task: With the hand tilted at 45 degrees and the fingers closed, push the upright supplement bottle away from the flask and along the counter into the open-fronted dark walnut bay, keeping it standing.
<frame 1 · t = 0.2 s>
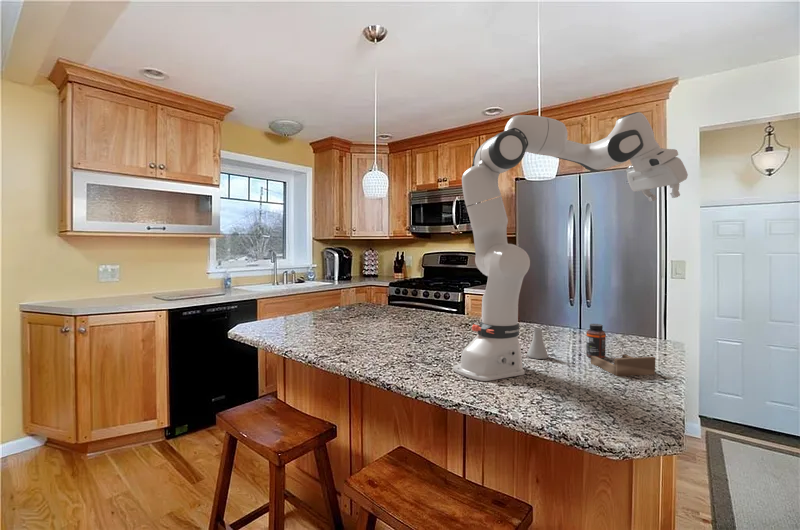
hand: (664, 198, 130), 54 cm above the countertop, tool tilted 30°, fingers open, 8 cm apart
walnut bay: (621, 368, 124), on the countertop
supplement bottle: (595, 357, 137), on the countertop
flask: (537, 357, 137), on the countertop
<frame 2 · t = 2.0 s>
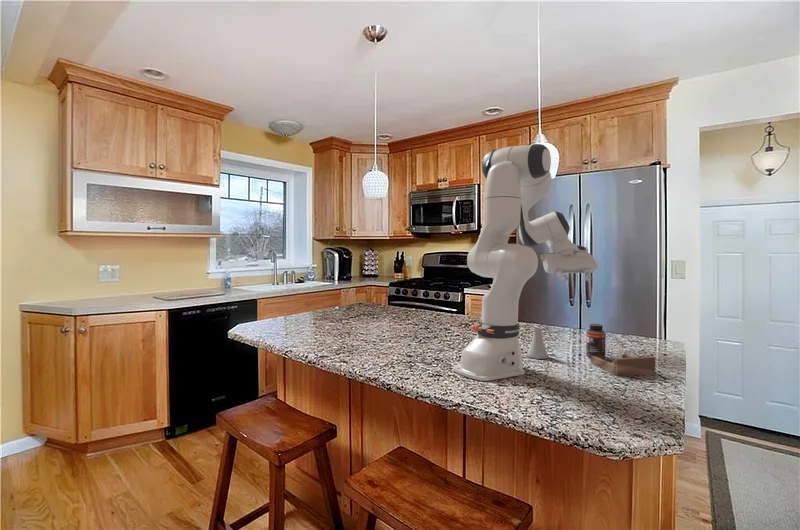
hand: (577, 280, 147), 25 cm above the countertop, tool tilted 45°, fingers open, 8 cm apart
nothing on the countertop moved.
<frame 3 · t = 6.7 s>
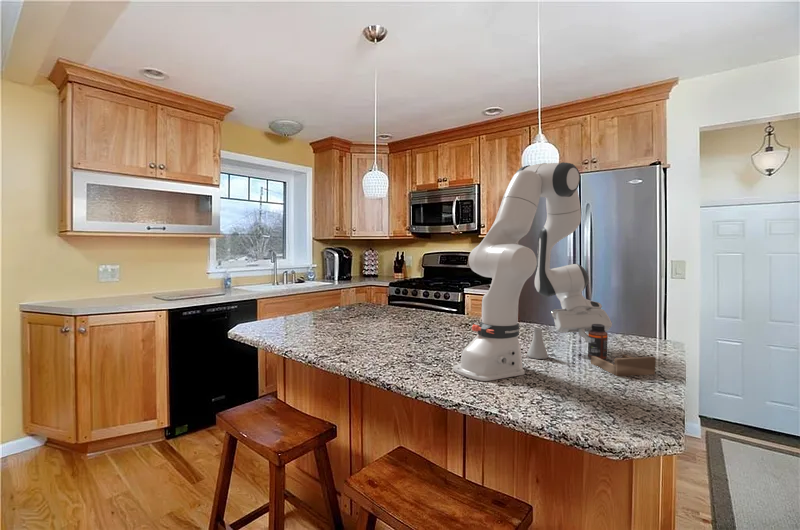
hand: (591, 341, 139), 5 cm above the countertop, tool tilted 45°, fingers closed, pressing on supplement bottle
supplement bottle: (597, 357, 136), on the countertop, touching gripper
everything else where it was.
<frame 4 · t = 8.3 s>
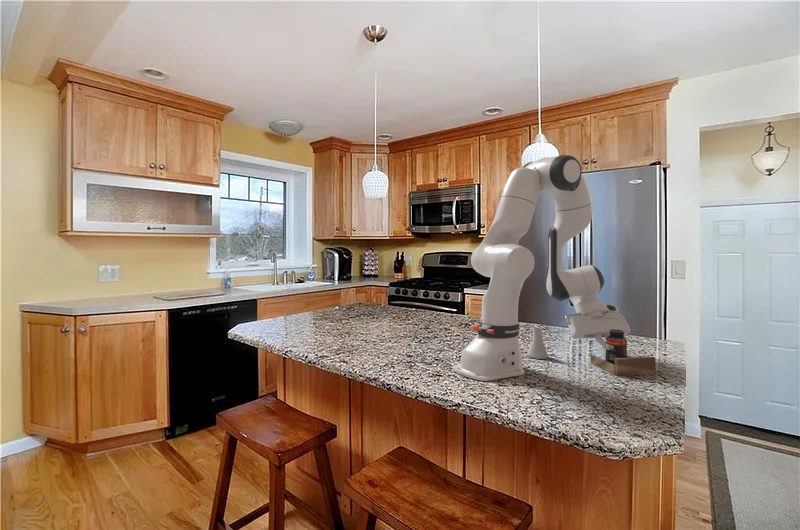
hand: (608, 347, 130), 5 cm above the countertop, tool tilted 45°, fingers closed, pressing on supplement bottle
supplement bottle: (615, 365, 127), resting in walnut bay, touching gripper
everything else where it was.
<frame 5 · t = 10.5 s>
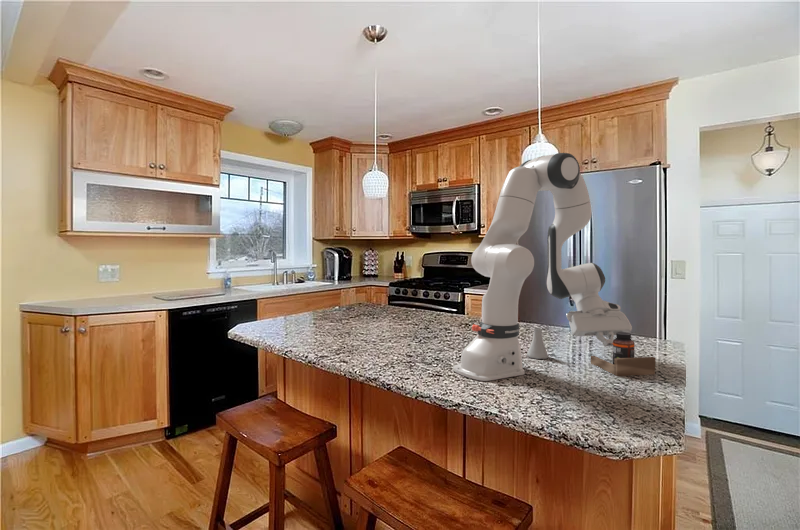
hand: (609, 345, 129), 6 cm above the countertop, tool tilted 45°, fingers closed
supplement bottle: (623, 369, 124), resting in walnut bay
everything else where it was.
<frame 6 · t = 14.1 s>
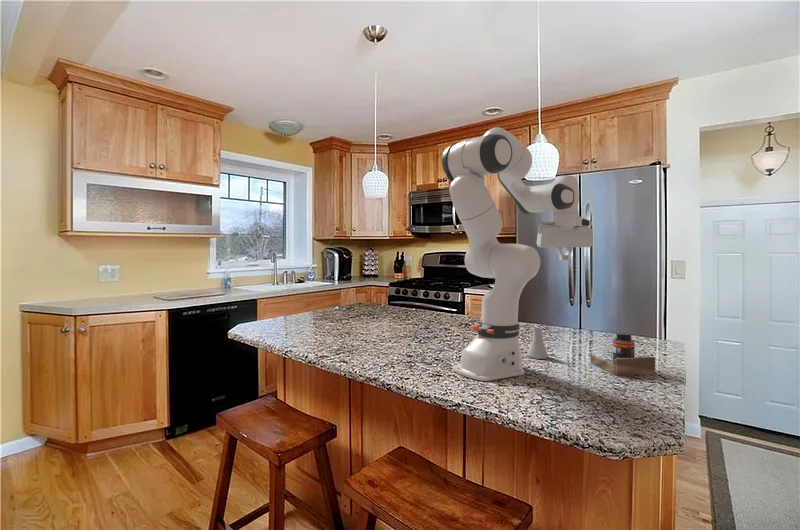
hand: (564, 260, 144), 33 cm above the countertop, tool pointing down, fingers closed
nothing on the countertop moved.
at the end: supplement bottle 0.4 cm off-centre on the walnut bay, point 0.0 cm above the walnut bay's base; supplement bottle tilted 0°; supplement bottle moved 13.2 cm from its start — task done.
